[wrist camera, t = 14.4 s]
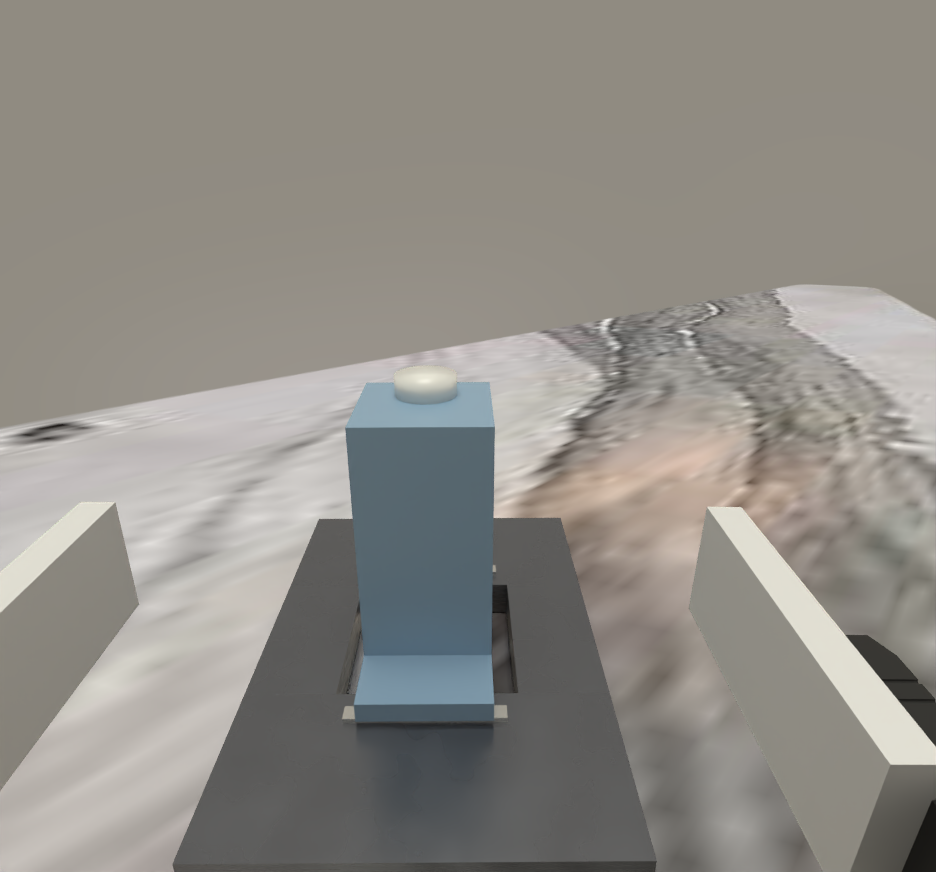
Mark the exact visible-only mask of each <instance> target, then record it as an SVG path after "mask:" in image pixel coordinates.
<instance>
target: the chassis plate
mask: <svg viewBox="0 0 936 872" xmlns="http://www.w3.org/2000/svg"><path fill="white" fill-rule="evenodd" d="M492 612H506V613H507V623H508V634H509V644H510V655H511V665H512V676H513V686H514V693H494V721H396V722H355V714H354V701H355V696H356V694H347V689H348V685H349V681H350V676H351V672H352V667H353V663H354V659H355V654H356V650H357V646H358V641H359V637H360V632H361V628H362V625H361V613H360V601H359V589H358V576H357V564H356V552H355V540H354V527H353V519H319V521H318V523H317V525H316V528H315V530H314V532H313V535H312V537H311V539H310V542H309V544H308V546H307V549H306V551H305V554H304V556H303V558H302V561H301V563H300V565H299V568H298V570H297V572H296V575H295V577H294V579H293V582H292V584H291V587H290V589H289V591H288V594H287V596H286V598H285V601H284V603H283V605H282V608H281V610H280V612H279V615H278V617H277V619H276V622H275V624H274V627H273V629H272V631H271V634H270V636H269V638H268V641H267V643H266V645H265V648H264V650H263V652H262V655H261V657H260V660H259V662H258V664H257V667H256V669H255V671H254V674H253V676H252V678H251V681H250V683H249V685H248V688H247V690H246V693H245V695H244V697H243V700H242V702H241V704H240V707H239V709H238V711H237V714H236V716H235V718H234V721H233V723H232V725H231V728H230V730H229V733H228V735H227V737H226V740H225V742H224V744H223V747H222V749H221V751H220V754H219V756H218V758H217V761H216V763H215V766H214V768H213V770H212V773H211V775H210V777H209V780H208V782H207V784H206V787H205V789H204V791H203V794H202V796H201V799H200V801H199V803H198V806H197V808H196V810H195V813H194V815H193V817H192V820H191V822H190V824H189V827H188V829H187V832H186V834H185V836H184V839H183V841H182V843H181V846H180V848H179V850H178V853H177V855H176V857H175V860H174V862H173V868H174V872H655V868H656V862H657V861H656V857H655V853H654V850H653V846H652V843H651V839H650V836H649V832H648V829H647V825H646V821H645V818H644V814H643V811H642V807H641V804H640V800H639V796H638V793H637V789H636V786H635V782H634V779H633V775H632V771H631V768H630V764H629V761H628V757H627V754H626V750H625V747H624V743H623V739H622V736H621V732H620V729H619V725H618V722H617V718H616V714H615V711H614V707H613V704H612V700H611V697H610V693H609V689H608V686H607V682H606V679H605V675H604V672H603V668H602V665H601V661H600V657H599V654H598V650H597V647H596V643H595V640H594V636H593V632H592V629H591V625H590V622H589V618H588V615H587V611H586V607H585V604H584V600H583V597H582V593H581V590H580V586H579V583H578V579H577V575H576V572H575V568H574V565H573V561H572V558H571V554H570V550H569V547H568V543H567V540H566V536H565V533H564V529H563V525H562V522H561V518H493V585H492Z"/></svg>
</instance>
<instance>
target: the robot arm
mask: <svg viewBox="0 0 936 872" xmlns="http://www.w3.org/2000/svg"><path fill="white" fill-rule="evenodd" d="M138 605H139V602H138V598H137V594H136V590H135V585H134V581H133V577H132V572H131V568H130V564H129V559H128V555H127V551H126V546H125V542H124V538H123V534H122V529H121V525H120V521H119V516H118V512H117V508H116V503H115V502H80V503H79V504H78V505H76V506H75V507H74V508H73V509H72V510H71V511H70V512H68V513H67V514H66V515H65V516H64V517H63V518H61V519H60V520H59V521H58V522H57V523H56V524H55V525H53V526H52V527H51V528H50V529H49V530H48V531H47V532H45V533H44V534H43V535H42V536H41V537H40V538H39V539H37V540H36V541H35V542H34V543H33V544H32V545H31V546H29V547H28V548H27V549H26V550H25V551H24V552H23V553H21V554H20V555H19V556H18V557H17V558H16V559H15V560H13V561H12V562H11V563H10V564H9V565H8V566H7V567H5V568H4V569H3V570H2V571H1V572H0V790H1V789H2V788H3V786H4V785H5V784H6V782H7V781H8V780H9V778H10V777H11V776H12V774H13V773H14V771H15V770H16V769H17V767H18V766H19V765H20V763H21V762H22V761H23V759H24V758H25V757H26V755H27V754H28V753H29V751H30V750H31V749H32V747H33V746H34V745H35V743H36V742H37V741H38V739H39V738H40V737H41V735H42V734H43V733H44V731H45V730H46V728H47V727H48V726H49V724H50V723H51V722H52V720H53V719H54V718H55V716H56V715H57V714H58V712H59V711H60V710H61V708H62V707H63V706H64V704H65V703H66V702H67V700H68V699H69V698H70V696H71V695H72V694H73V692H74V691H75V690H76V688H77V687H78V685H79V684H80V683H81V681H82V680H83V679H84V677H85V676H86V675H87V673H88V672H89V671H90V669H91V668H92V667H93V665H94V664H95V663H96V661H97V660H98V659H99V657H100V656H101V655H102V653H103V652H104V651H105V649H106V648H107V646H108V645H109V644H110V642H111V641H112V640H113V638H114V637H115V636H116V634H117V633H118V632H119V630H120V629H121V628H122V626H123V625H124V624H125V622H126V621H127V620H128V618H129V617H130V616H131V614H132V613H133V612H134V610H135V609H136V608H137V606H138ZM689 609H690V611H691V613H692V615H693V617H694V619H695V621H696V623H697V625H698V627H699V629H700V631H701V633H702V635H703V637H704V639H705V641H706V643H707V645H708V647H709V649H710V651H711V652H712V654H713V656H714V658H715V660H716V662H717V664H718V666H719V668H720V670H721V672H722V674H723V676H724V678H725V680H726V682H727V684H728V686H729V688H730V690H731V692H732V694H733V696H734V698H735V700H736V702H737V704H738V706H739V708H740V710H741V712H742V713H743V715H744V717H745V719H746V721H747V723H748V725H749V727H750V729H751V731H752V733H753V735H754V737H755V739H756V741H757V743H758V745H759V747H760V749H761V751H762V753H763V755H764V757H765V759H766V761H767V763H768V765H769V767H770V769H771V771H772V773H773V775H774V776H775V778H776V780H777V782H778V784H779V786H780V788H781V790H782V792H783V794H784V796H785V798H786V800H787V802H788V804H789V806H790V808H791V810H792V812H793V814H794V816H795V818H796V820H797V822H798V824H799V826H800V828H801V830H802V832H803V834H804V836H805V837H806V839H807V841H808V843H809V845H810V847H811V849H812V851H813V853H814V855H815V857H816V859H817V861H818V863H819V865H820V867H821V869H822V871H823V872H936V702H935V698H934V697H933V696H932V695H931V694H930V693H929V692H928V690H927V689H926V688H925V687H924V686H923V685H922V684H919V683H918V679H917V678H916V677H915V676H914V675H913V673H912V672H911V671H910V670H909V669H908V668H907V667H906V665H905V664H904V663H903V662H902V661H901V660H900V659H899V658H898V656H897V655H895V654H894V653H892V652H891V651H889V650H888V649H886V648H885V647H884V646H882V645H881V644H879V643H878V642H876V641H875V640H873V639H872V638H871V637H869V636H868V635H845V634H844V633H843V632H842V631H841V629H840V628H839V627H838V626H837V625H836V623H835V622H834V621H833V620H832V618H831V617H830V616H829V615H828V613H827V612H826V611H825V610H824V609H823V607H822V606H821V605H820V604H819V602H818V601H817V600H816V599H815V597H814V596H813V595H812V594H811V593H810V591H809V590H808V589H807V588H806V586H805V585H804V584H803V583H802V581H801V580H800V579H799V578H798V577H797V575H796V574H795V573H794V572H793V570H792V569H791V568H790V567H789V565H788V564H787V563H786V562H785V561H784V559H783V558H782V557H781V556H780V554H779V553H778V552H777V551H776V549H775V548H774V547H773V546H772V545H771V543H770V542H769V541H768V540H767V538H766V537H765V536H764V535H763V533H762V532H761V531H760V530H759V529H758V527H757V526H756V525H755V524H754V522H753V521H752V520H751V519H750V517H749V516H748V515H747V514H746V513H745V511H744V510H743V509H742V508H741V507H707V510H706V515H705V521H704V526H703V532H702V537H701V543H700V548H699V554H698V560H697V565H696V571H695V576H694V582H693V587H692V593H691V598H690V604H689Z"/></svg>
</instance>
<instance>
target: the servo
mask: <svg viewBox="0 0 936 872" xmlns="http://www.w3.org/2000/svg"><path fill="white" fill-rule="evenodd" d="M345 429H346V441H347V454H348V466H349V478H350V490H351V503H352V515H353V527H354V540H355V552H356V564H357V576H358V589H359V601H360V613H361V625H362V638H363V650H364V658H363V663H362V667H361V672H360V677H359V682H358V686H357V691H356V696H355V701H354V714H355V722H396V721H494V690H493V672H492V585H493V511H494V438H495V426H494V417H493V409H492V401H491V392H490V384H489V382H457V373H456V371H454V370H452V369H450V368H446V367H441V366H414V367H408V368H404V369H401V370H398V371H397V372H395V373H394V383H366V385H365V387H364V389H363V392H362V394H361V396H360V398H359V400H358V402H357V404H356V406H355V408H354V411H353V413H352V415H351V417H350V419H349V421H348V423H347V425H346V427H345Z"/></svg>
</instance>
